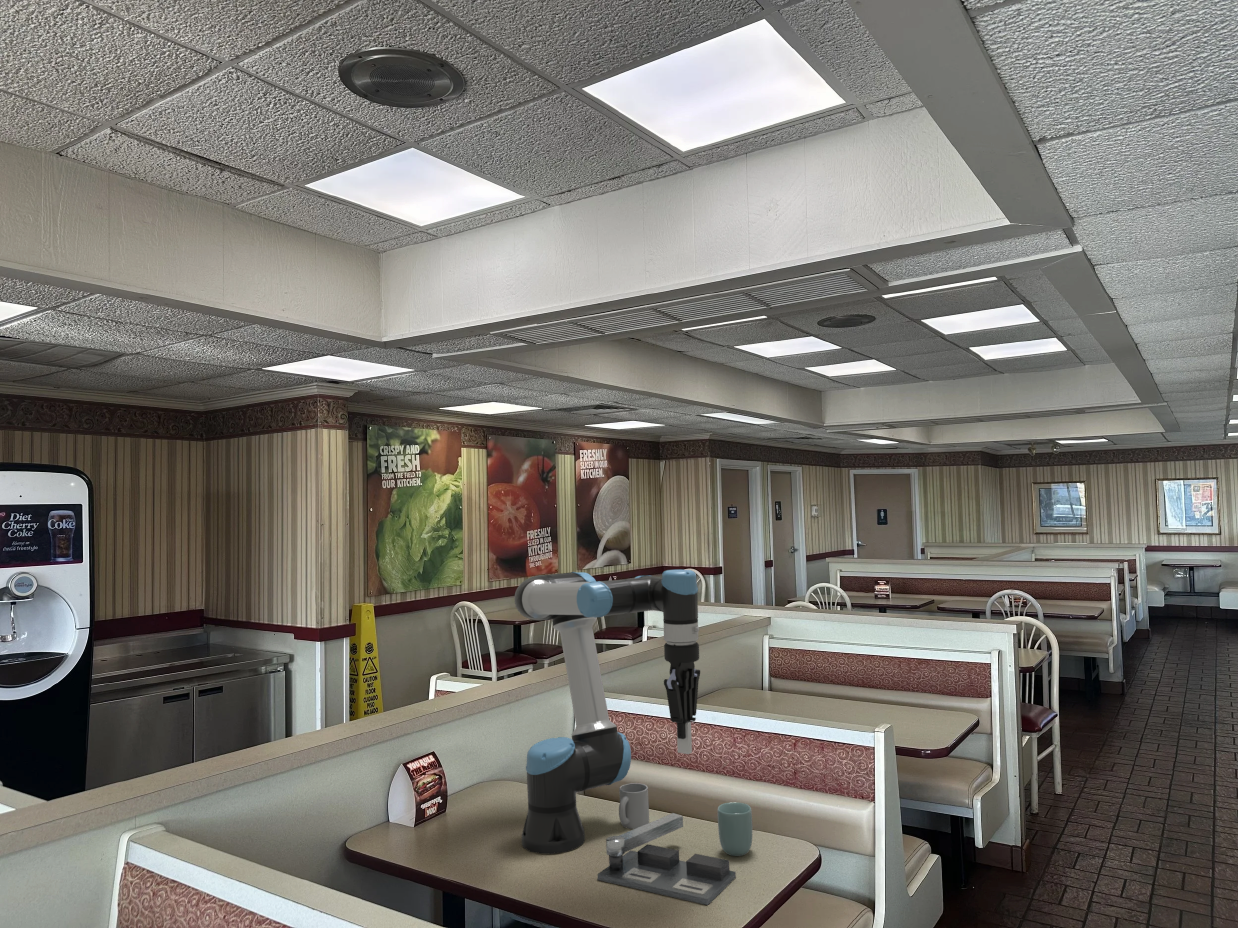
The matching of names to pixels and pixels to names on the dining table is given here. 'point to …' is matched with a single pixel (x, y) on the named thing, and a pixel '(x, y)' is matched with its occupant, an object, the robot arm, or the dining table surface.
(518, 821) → the dining table surface
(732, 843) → the cup
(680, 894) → the panel
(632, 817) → the cup
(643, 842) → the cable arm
